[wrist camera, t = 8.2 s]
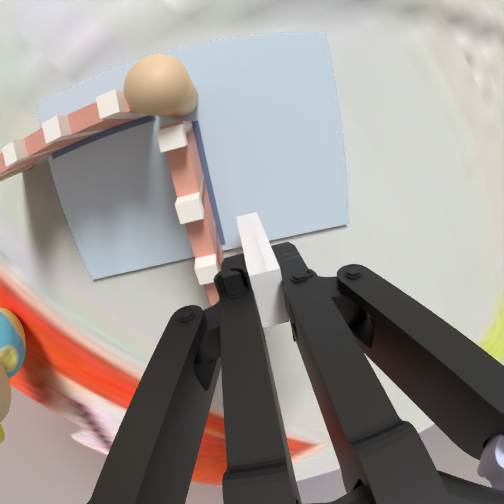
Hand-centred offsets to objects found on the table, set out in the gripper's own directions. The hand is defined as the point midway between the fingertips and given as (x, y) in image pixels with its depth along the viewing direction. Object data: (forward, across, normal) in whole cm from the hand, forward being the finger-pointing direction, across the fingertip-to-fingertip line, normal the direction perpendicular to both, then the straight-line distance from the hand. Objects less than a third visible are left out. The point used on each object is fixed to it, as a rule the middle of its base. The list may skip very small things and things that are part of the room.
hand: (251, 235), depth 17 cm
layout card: (+2, -2, +5) cm, 6 cm away
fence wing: (+2, -2, +2) cm, 4 cm away
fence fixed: (+2, -8, +9) cm, 12 cm away
